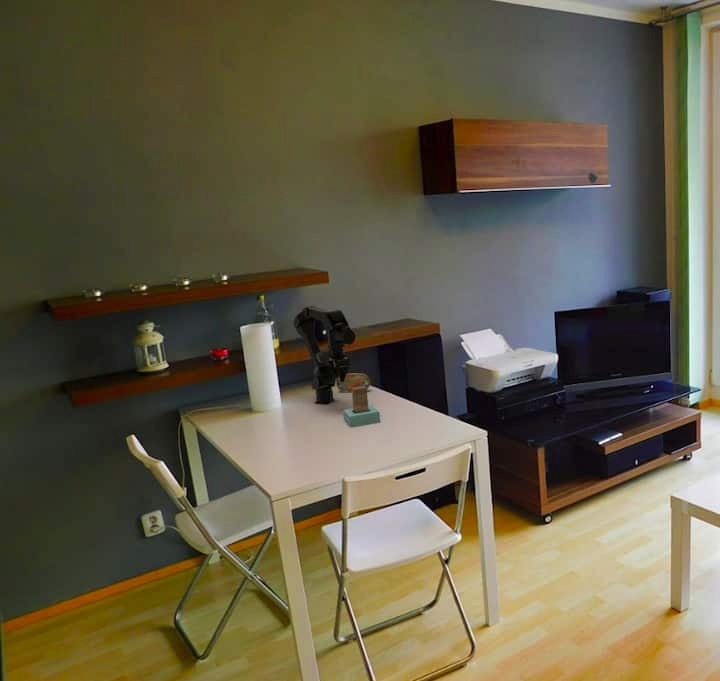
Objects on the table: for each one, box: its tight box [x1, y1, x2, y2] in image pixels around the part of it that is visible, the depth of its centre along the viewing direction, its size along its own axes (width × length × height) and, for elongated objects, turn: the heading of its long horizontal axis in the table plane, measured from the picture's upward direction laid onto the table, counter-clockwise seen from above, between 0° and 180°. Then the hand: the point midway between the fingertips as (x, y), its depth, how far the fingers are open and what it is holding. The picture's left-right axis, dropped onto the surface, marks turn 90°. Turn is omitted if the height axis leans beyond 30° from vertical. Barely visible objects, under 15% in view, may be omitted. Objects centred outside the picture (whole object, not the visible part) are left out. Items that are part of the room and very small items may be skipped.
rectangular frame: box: [342, 404, 381, 428], centre depth 230 cm, size 10×12×4 cm
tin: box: [336, 372, 371, 394], centre depth 271 cm, size 15×3×8 cm, turn 76°
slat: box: [351, 386, 369, 414], centre depth 229 cm, size 3×5×13 cm, turn 107°
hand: (339, 379), depth 246 cm, fingers open, 9 cm apart
